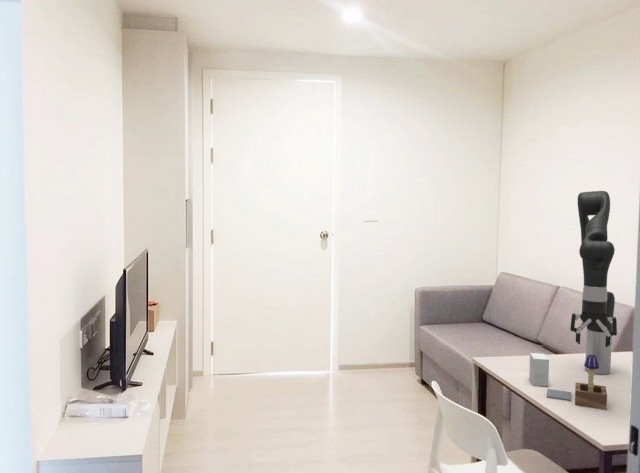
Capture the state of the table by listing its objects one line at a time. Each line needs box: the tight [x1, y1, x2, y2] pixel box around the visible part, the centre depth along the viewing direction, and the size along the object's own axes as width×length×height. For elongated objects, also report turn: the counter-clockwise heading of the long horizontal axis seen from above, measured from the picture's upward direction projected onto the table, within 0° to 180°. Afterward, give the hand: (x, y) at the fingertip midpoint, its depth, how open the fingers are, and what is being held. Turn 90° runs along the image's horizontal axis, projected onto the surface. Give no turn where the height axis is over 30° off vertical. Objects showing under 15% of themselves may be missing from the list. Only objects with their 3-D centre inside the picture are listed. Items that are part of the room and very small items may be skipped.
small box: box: [528, 352, 550, 387], centre depth 208 cm, size 8×6×10 cm
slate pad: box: [546, 388, 572, 402], centre depth 195 cm, size 8×8×1 cm
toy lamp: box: [583, 355, 599, 392], centre depth 188 cm, size 5×5×17 cm
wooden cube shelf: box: [574, 381, 608, 411], centre depth 189 cm, size 10×10×5 cm
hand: (592, 345), depth 187 cm, fingers open, 8 cm apart
